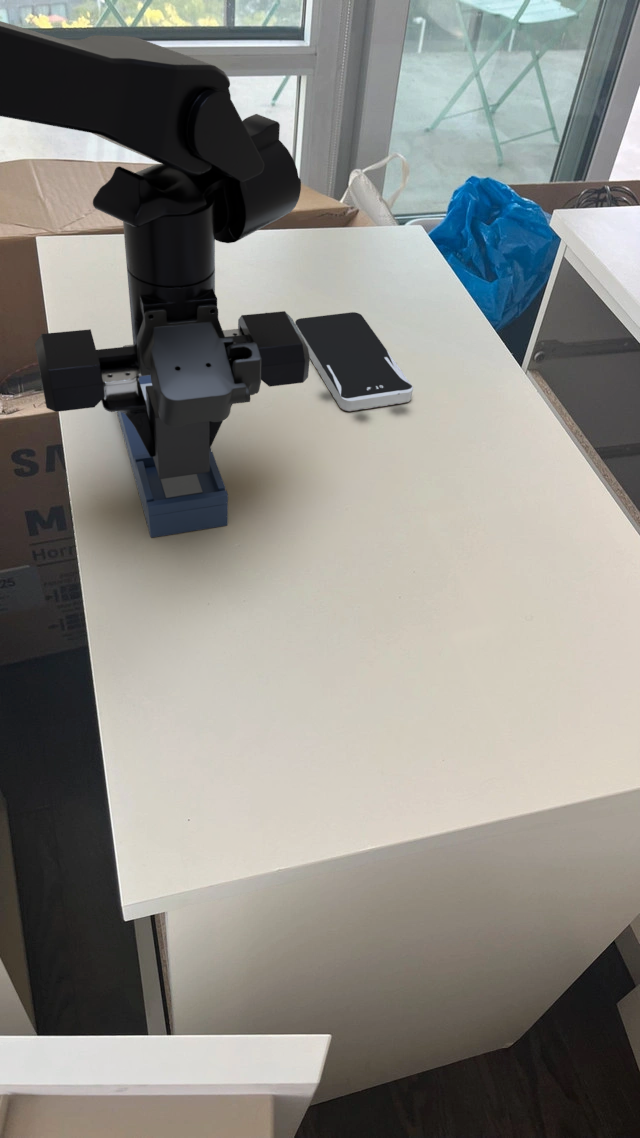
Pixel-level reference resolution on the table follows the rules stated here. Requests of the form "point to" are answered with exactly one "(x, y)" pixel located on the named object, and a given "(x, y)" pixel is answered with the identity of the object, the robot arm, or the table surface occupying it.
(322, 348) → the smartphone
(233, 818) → the table surface
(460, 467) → the table surface
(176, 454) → the block
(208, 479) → the blue long open box
